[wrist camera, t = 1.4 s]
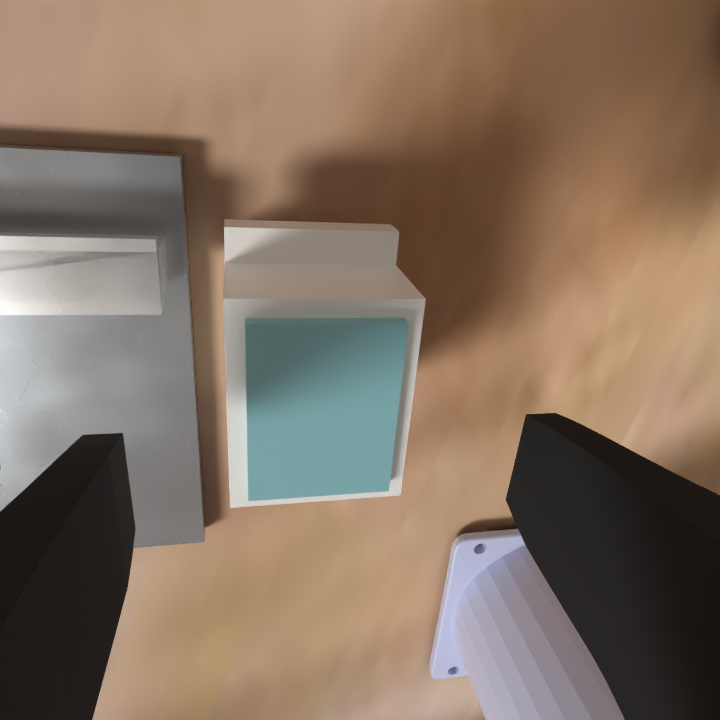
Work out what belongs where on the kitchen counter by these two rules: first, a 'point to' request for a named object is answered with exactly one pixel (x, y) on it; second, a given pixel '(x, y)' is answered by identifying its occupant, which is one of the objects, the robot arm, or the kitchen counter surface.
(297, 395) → the block
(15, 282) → the rail
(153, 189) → the plate
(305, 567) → the kitchen counter surface
